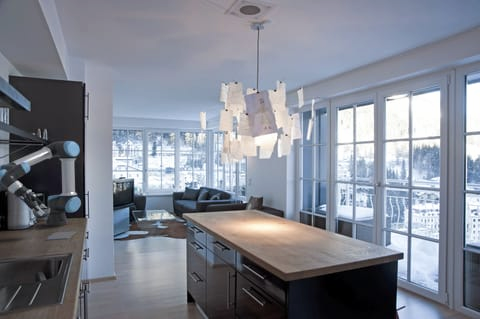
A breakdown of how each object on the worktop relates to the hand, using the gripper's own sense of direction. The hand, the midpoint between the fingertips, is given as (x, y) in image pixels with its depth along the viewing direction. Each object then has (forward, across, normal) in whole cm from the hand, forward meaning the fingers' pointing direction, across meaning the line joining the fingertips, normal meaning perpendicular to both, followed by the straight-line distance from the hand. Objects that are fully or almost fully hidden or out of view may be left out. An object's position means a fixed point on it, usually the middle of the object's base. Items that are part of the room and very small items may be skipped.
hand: (45, 213), depth 216 cm
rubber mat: (+18, 0, -4) cm, 18 cm away
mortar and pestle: (+1, 0, -5) cm, 5 cm away
